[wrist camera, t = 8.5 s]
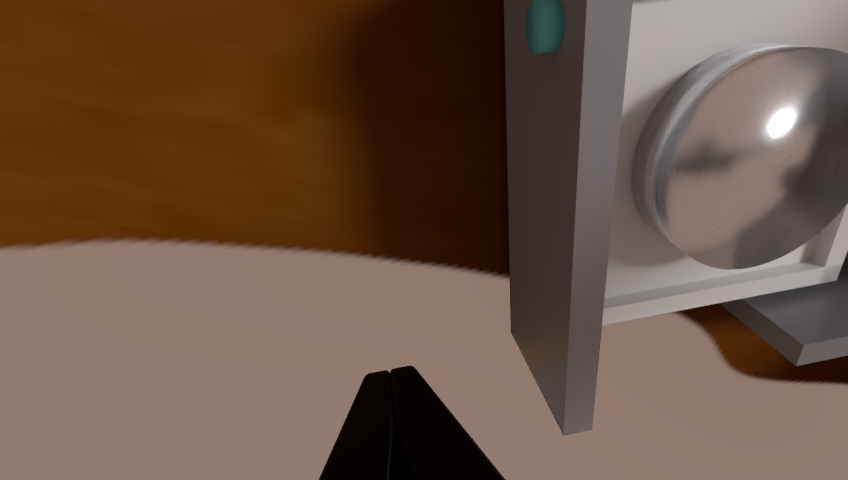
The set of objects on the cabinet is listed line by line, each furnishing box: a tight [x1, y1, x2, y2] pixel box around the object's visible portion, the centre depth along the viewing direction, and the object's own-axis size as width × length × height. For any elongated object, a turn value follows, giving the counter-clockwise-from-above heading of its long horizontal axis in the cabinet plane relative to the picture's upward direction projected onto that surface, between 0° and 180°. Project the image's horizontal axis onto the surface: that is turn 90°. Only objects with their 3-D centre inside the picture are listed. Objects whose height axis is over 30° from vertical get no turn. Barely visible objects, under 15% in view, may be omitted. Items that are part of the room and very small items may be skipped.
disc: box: [631, 43, 848, 270], centre depth 15 cm, size 7×7×2 cm
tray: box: [504, 0, 848, 435], centre depth 15 cm, size 14×15×6 cm
